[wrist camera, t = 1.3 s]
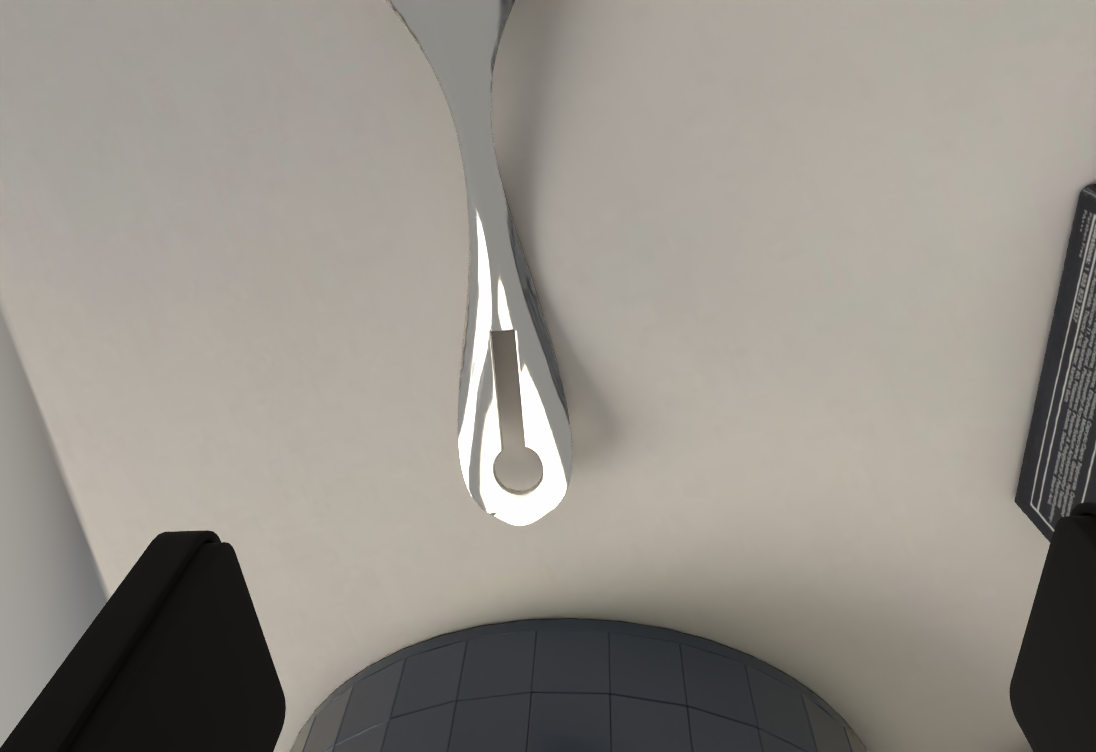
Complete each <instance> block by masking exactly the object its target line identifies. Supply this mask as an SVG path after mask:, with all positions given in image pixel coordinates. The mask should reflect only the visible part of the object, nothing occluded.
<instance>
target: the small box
mask: <svg viewBox="0 0 1096 752" xmlns="http://www.w3.org/2000/svg"><path fill="white" fill-rule="evenodd" d="M1084 502H1096V184H1094V185H1089V186H1087V187H1085V188H1084V189H1083V190H1081V193H1080V195H1079V200H1078V205H1077V210H1076V214H1075V219H1074V222H1073V228H1072V232H1071V236H1070V239H1069V245H1068V249H1067V256H1066V260H1065V265H1064V270H1063V274H1062V278H1061V283H1060V288H1059V293H1058V297H1057V302H1056V306H1055V312H1054V317H1053V321H1052V326H1051V331H1050V335H1049V339H1048V345H1047V350H1046V354H1045V360H1044V365H1043V369H1042V373H1041V378H1040V382H1039V387H1038V392H1037V397H1036V401H1035V406H1034V412H1033V416H1032V420H1031V425H1030V430H1029V435H1028V439H1027V444H1026V449H1025V453H1024V459H1023V464H1022V468H1021V474H1020V478H1019V484H1018V489H1017V494H1016V497H1015V503H1016V504H1017V505H1018V506H1019V507H1020V508H1021V510H1022V511H1023V512H1024V513H1025V514H1026V515H1027V516H1028V517H1029V519H1030V520H1031V521H1032V522H1033V523H1034V524H1035V526H1036V527H1037V528H1038V529H1039V530H1040V531H1041V533H1042V534H1043V535H1044V536H1045V537H1046V538H1047V539H1048V540H1049V542H1050V543H1051V539H1052V536H1053V532H1054V529H1055V526H1056V524H1057V522H1058V520H1059V519H1060V518H1062V517H1066V516H1070V514H1071V512H1072V510H1073V509H1074V508H1075V507H1076V506H1077V505H1078V504H1080V503H1084Z"/></svg>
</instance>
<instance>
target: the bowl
mask: <svg viewBox="0 0 1096 752" xmlns="http://www.w3.org/2000/svg"><path fill="white" fill-rule="evenodd" d="M290 752H867V750H866V748H865V746H864V745H863V743H862V742H861V741H860V739H859V738H858V737H857V736H856V734H855V733H854V732H853V730H852V729H851V728H850V727H849V725H848V724H847V723H846V722H845V720H844V719H843V718H842V717H840V716H839V715H838V714H837V713H836V712H835V711H834V710H833V709H832V708H831V707H830V706H829V705H827V704H826V703H825V702H824V701H823V700H822V699H821V698H820V697H819V696H817V695H816V694H815V693H813V692H812V691H810V690H809V689H807V688H806V687H804V686H803V685H802V684H800V683H799V682H797V681H796V680H794V679H793V678H791V677H790V676H788V675H787V674H785V673H783V672H781V671H779V670H777V669H775V668H773V667H771V666H769V665H767V664H766V663H764V662H762V661H760V660H758V659H756V658H754V657H752V656H750V655H747V654H744V653H742V652H739V651H736V650H734V649H731V648H729V647H726V646H723V645H721V644H718V643H715V642H713V641H710V640H706V639H702V638H699V637H695V636H691V635H687V634H683V633H680V632H676V631H672V630H668V629H663V628H657V627H651V626H645V625H638V624H632V623H626V622H619V621H603V620H587V619H547V620H524V621H516V622H509V623H501V624H494V625H486V626H480V627H476V628H472V629H467V630H463V631H459V632H455V633H451V634H447V635H442V636H439V637H436V638H433V639H430V640H428V641H425V642H422V643H419V644H416V645H414V646H411V647H408V648H405V649H403V650H400V651H398V652H396V653H394V654H392V655H390V656H388V657H386V658H384V659H383V660H381V661H379V662H377V663H375V664H373V665H371V666H369V667H367V668H366V669H364V670H363V671H361V672H360V673H358V674H357V675H356V676H354V677H353V678H351V679H350V680H348V681H347V682H345V683H344V684H343V685H341V686H340V687H339V688H338V689H337V690H336V691H335V692H333V693H332V694H331V695H330V696H329V697H328V698H327V699H326V700H325V701H324V702H323V703H322V704H321V705H320V706H319V707H318V708H317V709H316V710H315V711H314V713H313V714H312V716H311V717H310V718H309V720H308V721H307V722H306V724H305V725H304V727H303V728H302V729H301V731H300V732H299V734H298V736H297V739H296V741H295V743H294V745H293V747H292V748H291V750H290Z"/></svg>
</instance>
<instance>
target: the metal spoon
mask: <svg viewBox="0 0 1096 752" xmlns="http://www.w3.org/2000/svg"><path fill="white" fill-rule="evenodd" d="M385 1H386V2H387V4H388V5H389V6H390V7H391V9H392V10H393V11H394V13H395V14H396V15H397V16H398V18H399V19H400V20H401V22H402V23H403V24H404V26H405V27H406V28H407V30H408V31H409V32H410V34H411V35H412V36H413V38H414V39H415V41H416V42H417V44H418V45H419V47H420V48H421V50H422V51H423V53H424V55H425V56H426V58H427V60H428V62H429V63H430V65H431V67H432V69H433V71H434V73H435V75H436V77H437V79H438V81H439V83H440V86H441V88H442V90H443V93H444V95H445V98H446V101H447V103H448V106H449V109H450V112H451V115H452V118H453V121H454V125H455V128H456V132H457V136H458V140H459V145H460V150H461V155H462V160H463V166H464V173H465V181H466V190H467V201H468V217H469V268H468V288H467V302H466V315H465V326H464V337H463V348H462V359H461V372H460V386H459V404H458V442H459V454H460V462H461V467H462V472H463V476H464V480H465V483H466V485H467V488H468V490H469V492H470V494H471V496H472V497H473V499H474V500H475V502H476V503H477V504H478V505H479V506H480V507H481V508H482V509H483V510H485V511H486V512H488V513H489V514H491V515H494V516H495V517H497V518H499V519H501V520H502V521H505V522H507V523H509V524H512V525H518V526H523V525H527V524H530V523H532V522H534V521H536V520H538V519H539V518H541V517H542V516H544V515H545V514H547V513H548V512H550V511H552V510H553V509H554V508H555V507H556V506H557V505H558V504H559V503H560V502H561V500H562V499H563V497H564V495H565V493H566V491H567V488H568V485H569V481H570V476H571V469H572V439H571V429H570V422H569V415H568V409H567V404H566V399H565V394H564V389H563V385H562V380H561V376H560V372H559V368H558V364H557V361H556V357H555V353H554V349H553V346H552V342H551V339H550V336H549V332H548V329H547V325H546V322H545V319H544V316H543V312H542V309H541V306H540V303H539V300H538V297H537V294H536V290H535V287H534V284H533V281H532V278H531V275H530V272H529V269H528V266H527V263H526V260H525V257H524V254H523V251H522V248H521V245H520V242H519V239H518V236H517V233H516V229H515V226H514V223H513V220H512V217H511V214H510V210H509V207H508V204H507V200H506V196H505V193H504V189H503V185H502V181H501V177H500V173H499V169H498V164H497V159H496V154H495V148H494V141H493V133H492V121H491V87H492V77H493V69H494V63H495V57H496V53H497V49H498V45H499V42H500V39H501V35H502V32H503V29H504V27H505V24H506V21H507V19H508V16H509V14H510V11H511V9H512V6H513V4H514V2H515V0H385ZM512 330H513V331H515V341H516V352H517V363H518V374H519V384H520V395H521V406H522V417H523V428H524V440H525V447H526V448H528V449H530V450H532V451H533V452H535V453H536V454H537V455H538V457H539V458H540V460H541V462H542V466H543V473H542V476H541V479H540V480H539V482H538V483H537V484H536V485H534V486H533V487H531V488H529V489H527V490H513V489H510V488H508V487H506V486H505V485H504V484H502V483H501V481H500V480H499V479H498V477H497V475H496V472H495V461H496V459H497V457H498V455H499V454H500V453H501V452H502V451H503V438H502V428H501V418H500V408H499V398H498V388H497V378H496V367H495V357H494V347H493V337H492V332H498V331H512Z"/></svg>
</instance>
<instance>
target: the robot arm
mask: <svg viewBox="0 0 1096 752" xmlns="http://www.w3.org/2000/svg"><path fill="white" fill-rule="evenodd" d="M1010 700H1011V706H1012V709H1013V713H1014V715H1015V718H1016V720H1017V722H1018V724H1019V726H1020V727H1021V729H1022V731H1023V733H1024V735H1025V737H1026V738H1027V740H1028V742H1029V744H1030V746H1031V748H1032V749H1033V751H1034V752H1096V502H1084V503H1080V504H1078V505H1077V506H1076V507H1075V508H1074V509H1073V510H1072V512H1071V514H1070V516H1066V517H1062V518H1060V519H1059V520H1058V522H1057V524H1056V526H1055V529H1054V532H1053V536H1052V539H1051V543H1050V546H1049V550H1048V554H1047V557H1046V561H1045V564H1044V568H1043V571H1042V575H1041V578H1040V582H1039V585H1038V589H1037V592H1036V596H1035V599H1034V603H1033V606H1032V610H1031V613H1030V617H1029V620H1028V624H1027V628H1026V631H1025V635H1024V638H1023V642H1022V645H1021V649H1020V652H1019V656H1018V659H1017V663H1016V666H1015V670H1014V673H1013V677H1012V680H1011V684H1010ZM285 709H286V705H285V697H284V693H283V690H282V687H281V684H280V681H279V679H278V676H277V673H276V670H275V667H274V664H273V661H272V658H271V655H270V652H269V649H268V646H267V644H266V641H265V638H264V635H263V632H262V629H261V626H260V623H259V620H258V617H257V614H256V612H255V609H254V606H253V603H252V600H251V597H250V594H249V591H248V588H247V585H246V582H245V580H244V577H243V574H242V571H241V568H240V565H239V562H238V559H237V556H236V553H235V551H234V549H233V547H232V546H231V545H230V544H229V543H225V542H223V543H221V541H220V539H219V537H218V535H217V534H215V533H214V532H213V531H179V532H164V533H161V534H159V535H158V536H157V537H156V538H155V539H154V540H153V541H152V542H151V543H150V545H149V546H148V547H147V549H146V550H145V551H144V553H143V554H142V556H141V557H140V558H139V560H138V561H137V562H136V564H135V565H134V566H133V568H132V569H131V571H130V572H129V573H128V575H127V576H126V577H125V579H124V580H123V581H122V583H121V584H120V586H119V587H118V588H117V590H116V591H115V592H114V594H113V595H112V596H111V598H110V599H109V601H108V602H107V603H106V605H105V606H104V607H103V609H102V610H101V611H100V613H99V614H98V616H97V617H96V618H95V620H94V621H93V622H92V624H91V625H90V626H89V628H88V629H87V630H86V632H85V633H84V635H83V636H82V637H81V639H80V640H79V641H78V643H77V644H76V645H75V647H74V648H73V650H72V651H71V652H70V654H69V655H68V656H67V658H66V659H65V661H64V662H63V663H62V665H61V666H60V667H59V669H58V670H57V671H56V673H55V674H54V676H53V677H52V678H51V680H50V681H49V682H48V684H47V685H46V687H45V688H44V689H43V690H42V692H41V693H40V695H39V696H38V697H37V699H36V700H35V701H34V703H33V704H32V706H31V707H30V708H29V710H28V711H27V712H26V714H25V715H24V716H23V718H22V719H21V720H20V722H19V723H18V725H17V726H16V727H15V729H14V730H13V731H12V733H11V734H10V735H9V737H8V738H7V740H6V741H5V742H4V744H3V745H2V746H1V748H0V752H273V751H274V748H275V745H276V743H277V740H278V738H279V735H280V733H281V730H282V727H283V724H284V719H285Z"/></svg>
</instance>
